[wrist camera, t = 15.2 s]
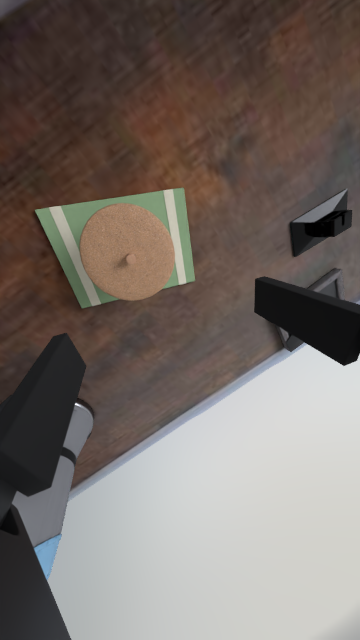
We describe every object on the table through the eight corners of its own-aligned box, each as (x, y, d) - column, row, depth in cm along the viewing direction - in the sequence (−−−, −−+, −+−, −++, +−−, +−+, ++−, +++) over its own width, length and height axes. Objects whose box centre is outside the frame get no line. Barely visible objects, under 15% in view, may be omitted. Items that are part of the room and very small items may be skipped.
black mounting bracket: (345, 188, 33) (375, 182, 29) (343, 227, 37) (370, 227, 33) (289, 222, 33) (312, 221, 29) (293, 258, 36) (314, 261, 32)
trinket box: (122, 297, 30) (120, 321, 22) (73, 236, 24) (48, 237, 16) (175, 264, 30) (193, 275, 22) (139, 195, 24) (145, 176, 16)
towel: (82, 307, 29) (81, 308, 29) (36, 210, 23) (34, 209, 22) (193, 280, 33) (195, 281, 32) (182, 188, 26) (183, 187, 25)
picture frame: (284, 347, 48) (339, 308, 47) (290, 352, 47) (347, 311, 46) (271, 315, 42) (334, 268, 41) (277, 318, 40) (343, 269, 39)
